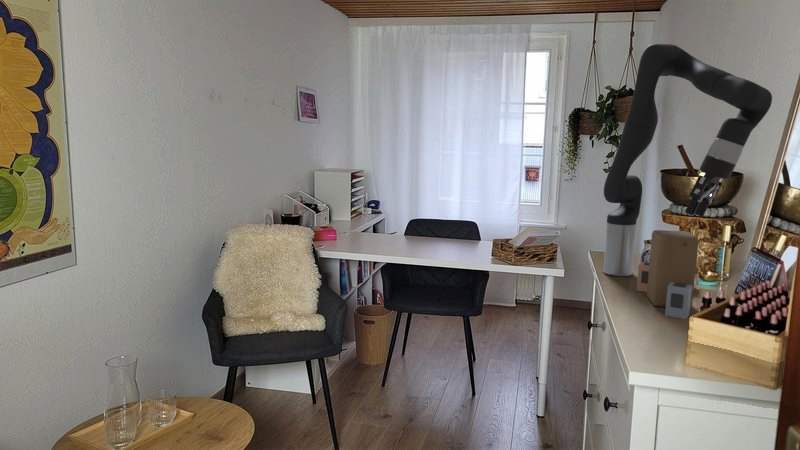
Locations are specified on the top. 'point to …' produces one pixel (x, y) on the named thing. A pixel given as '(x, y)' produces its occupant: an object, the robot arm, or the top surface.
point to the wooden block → (671, 263)
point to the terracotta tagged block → (643, 276)
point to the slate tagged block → (678, 300)
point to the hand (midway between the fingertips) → (693, 214)
